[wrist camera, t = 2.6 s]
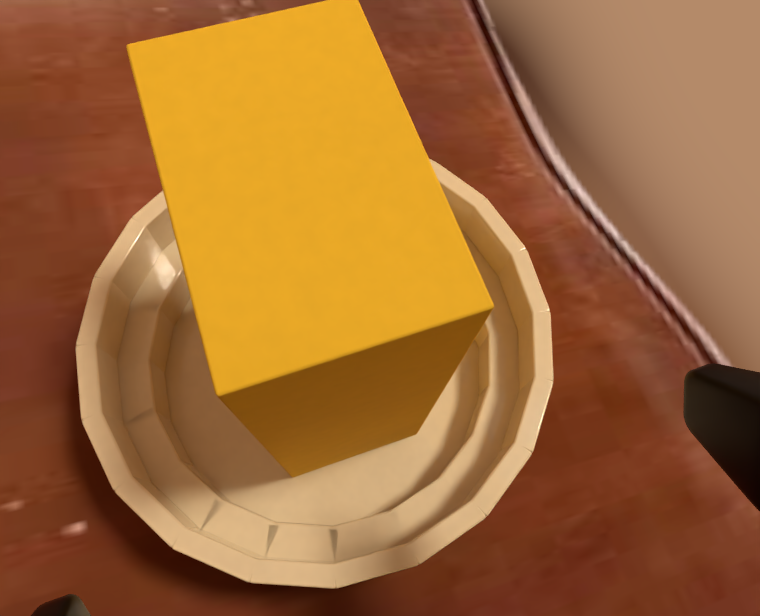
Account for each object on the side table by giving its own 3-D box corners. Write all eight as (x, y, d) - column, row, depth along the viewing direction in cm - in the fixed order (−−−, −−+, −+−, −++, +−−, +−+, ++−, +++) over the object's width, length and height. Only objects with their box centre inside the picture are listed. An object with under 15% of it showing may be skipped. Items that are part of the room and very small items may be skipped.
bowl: (591, 343, 23) (639, 304, 19) (345, 682, 18) (343, 718, 14) (311, 137, 25) (304, 67, 22) (39, 386, 21) (-28, 353, 17)
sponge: (417, 434, 21) (496, 306, 9) (291, 477, 20) (215, 396, 9) (353, 260, 23) (355, -8, 12) (238, 294, 22) (124, 43, 11)
